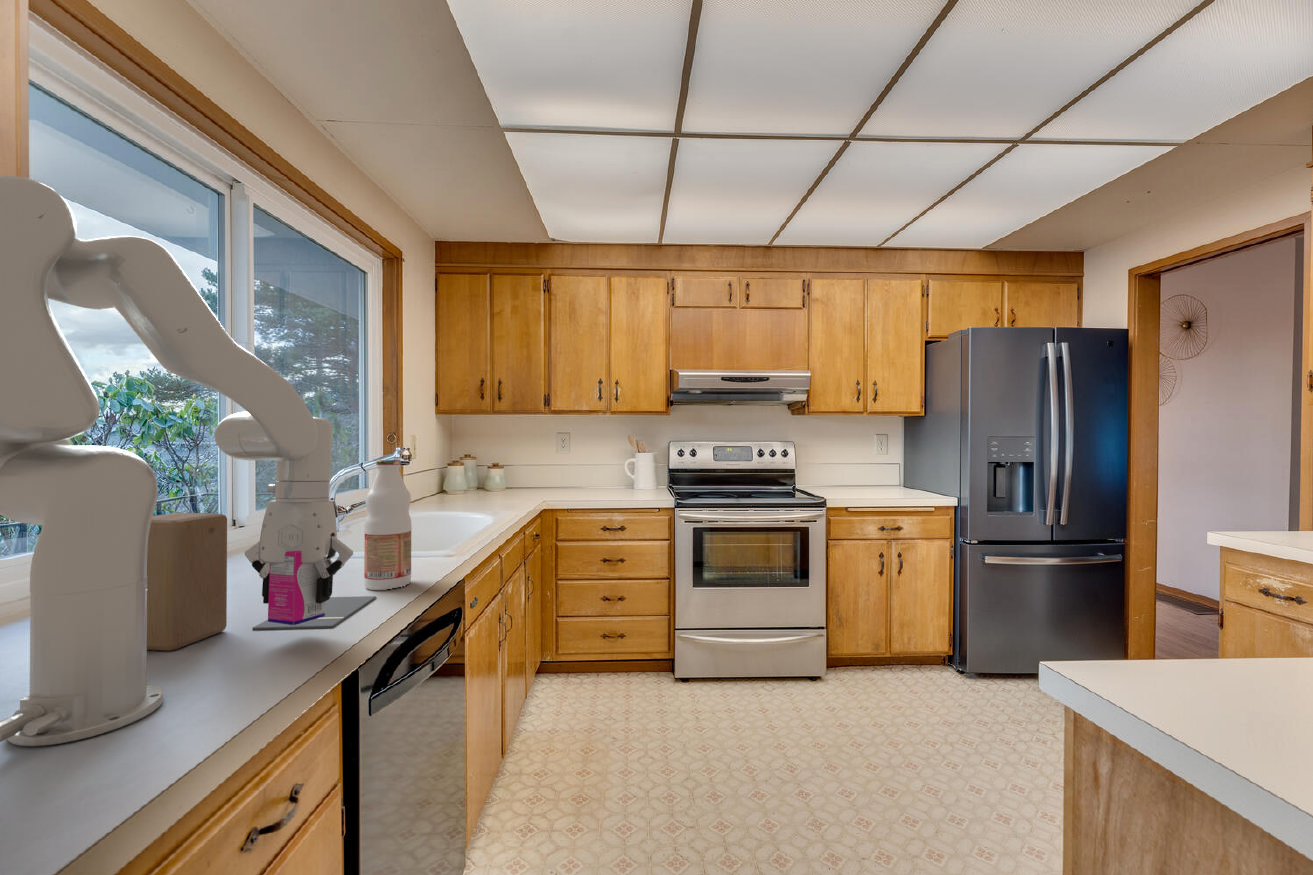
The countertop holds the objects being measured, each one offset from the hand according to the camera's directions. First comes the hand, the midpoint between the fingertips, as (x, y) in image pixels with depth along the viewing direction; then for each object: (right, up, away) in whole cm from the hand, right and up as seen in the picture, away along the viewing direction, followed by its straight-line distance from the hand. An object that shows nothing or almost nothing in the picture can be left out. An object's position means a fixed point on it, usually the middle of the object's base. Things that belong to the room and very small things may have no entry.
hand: (297, 600), depth 90 cm
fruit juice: (-1, -7, +33) cm, 34 cm away
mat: (-5, -6, +14) cm, 16 cm away
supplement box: (0, -3, 0) cm, 3 cm away
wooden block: (-20, -6, 0) cm, 21 cm away
